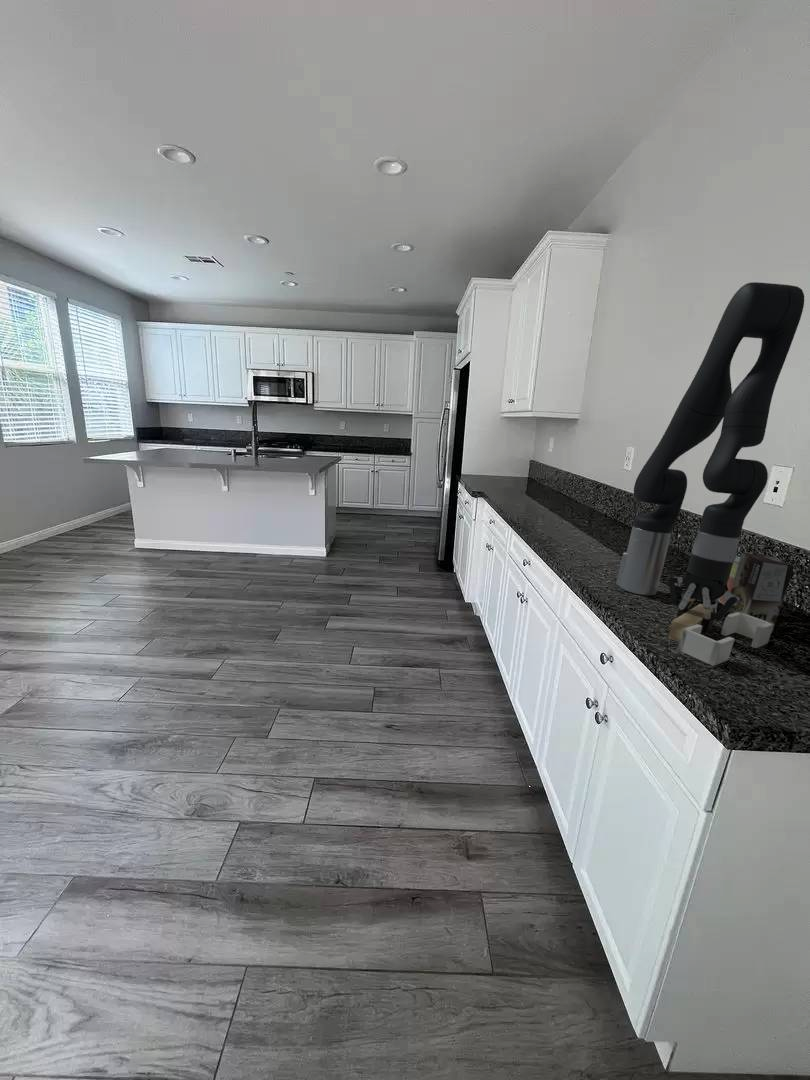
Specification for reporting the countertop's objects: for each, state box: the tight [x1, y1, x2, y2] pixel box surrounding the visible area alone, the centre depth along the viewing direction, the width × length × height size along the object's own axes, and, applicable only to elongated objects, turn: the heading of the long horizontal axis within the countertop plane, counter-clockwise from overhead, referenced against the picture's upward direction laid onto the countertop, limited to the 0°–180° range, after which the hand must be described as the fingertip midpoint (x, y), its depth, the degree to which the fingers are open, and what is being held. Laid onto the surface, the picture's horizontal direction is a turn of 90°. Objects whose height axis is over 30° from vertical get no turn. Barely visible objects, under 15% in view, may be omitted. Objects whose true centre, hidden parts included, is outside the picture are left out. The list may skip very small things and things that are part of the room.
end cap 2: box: [720, 612, 775, 649], centre depth 94 cm, size 7×6×4 cm
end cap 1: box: [676, 624, 735, 667], centre depth 84 cm, size 7×6×4 cm
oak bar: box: [668, 603, 717, 643], centre depth 95 cm, size 3×18×4 cm, turn 131°
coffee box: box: [729, 552, 795, 634], centre depth 102 cm, size 9×6×16 cm
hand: (691, 629), depth 96 cm, fingers closed on oak bar, 4 cm apart
